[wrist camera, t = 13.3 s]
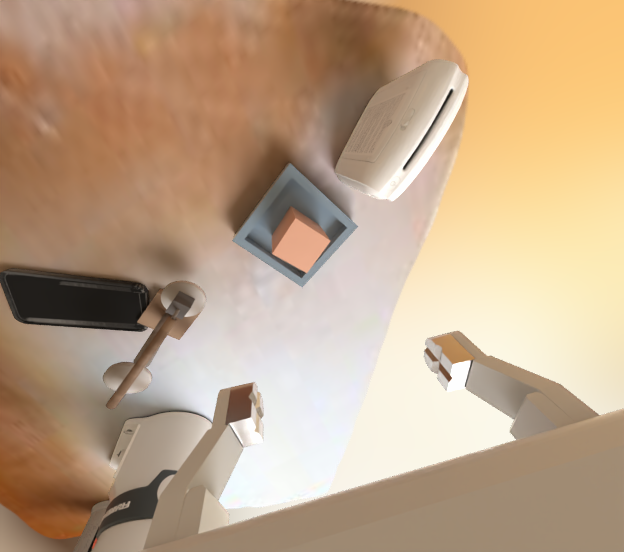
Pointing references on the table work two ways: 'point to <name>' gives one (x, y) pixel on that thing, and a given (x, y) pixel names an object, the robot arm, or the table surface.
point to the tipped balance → (156, 336)
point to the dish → (273, 208)
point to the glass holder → (91, 527)
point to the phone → (74, 300)
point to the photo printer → (402, 129)
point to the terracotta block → (298, 240)
